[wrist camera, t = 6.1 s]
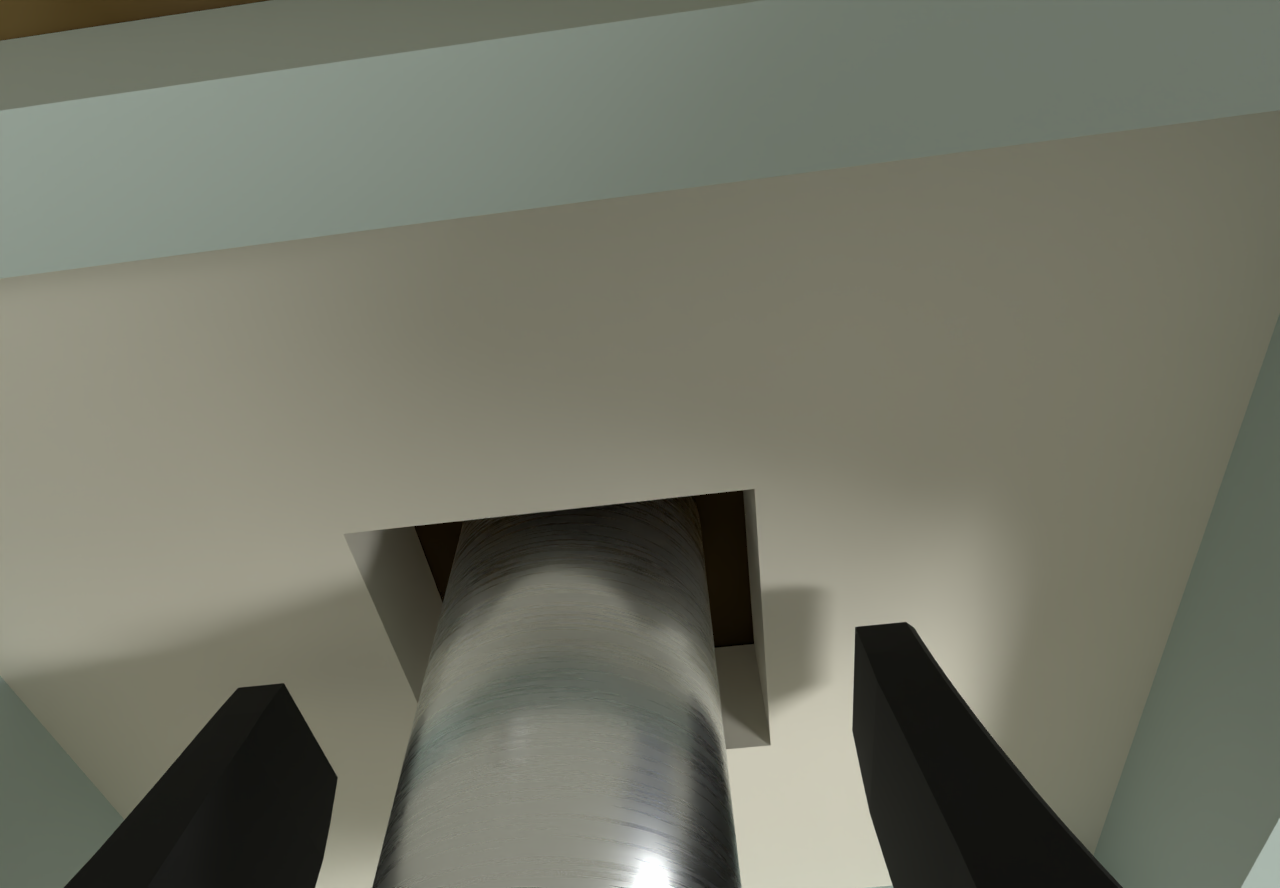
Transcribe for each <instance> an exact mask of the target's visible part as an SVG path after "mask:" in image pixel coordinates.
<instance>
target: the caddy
mask: <svg viewBox="0 0 1280 888" xmlns="http://www.w3.org/2000/svg"><path fill="white" fill-rule="evenodd" d="M740 490H743V499H744V513H745V526H746V540H747V554H748V567H749V581H750V595H751V609H752V622H753V636H754V644H749V645H739V646H729V647H719V648H715V657H716V666H717V675H718V683H719V692H720V701H721V710H722V719H723V728H724V736H725V745H726V754H727V763H728V772H729V781H730V789H731V798H732V807H733V816H734V825H735V834H736V843H737V851H738V860H739V869H740V878H741V887H742V888H893V885H892V882H891V879H890V876H889V872H888V869H887V866H886V863H885V860H884V857H883V854H882V850H881V847H880V844H879V841H878V838H877V835H876V832H875V828H874V825H873V822H872V819H871V816H870V812H869V807H868V803H867V798H866V794H865V789H864V784H863V780H862V775H861V771H860V766H859V761H858V756H857V751H856V746H855V742H854V737H853V732H852V722H853V687H854V653H855V627H859V626H869V625H879V624H889V623H899V622H907V623H908V624H910V625H911V626H913V627H914V628H915V630H916V631H917V633H918V634H919V636H920V637H921V639H922V641H923V642H924V644H925V645H926V647H927V648H928V650H929V651H930V653H931V654H932V656H933V657H934V659H935V660H936V661H937V663H938V664H939V666H940V667H941V669H942V670H943V672H944V673H945V674H946V676H947V677H948V679H949V680H950V681H951V683H952V684H953V686H954V687H955V688H956V690H957V691H958V692H959V694H960V695H961V696H962V698H963V699H964V700H965V702H966V703H967V704H968V706H969V707H970V709H971V710H972V711H973V713H974V714H975V715H976V717H977V718H978V719H979V721H980V722H981V723H982V724H983V726H984V727H985V728H986V730H987V731H988V732H989V733H990V735H991V736H992V737H993V738H994V740H995V741H996V742H997V744H998V745H999V746H1000V747H1001V748H1002V750H1003V751H1004V752H1005V753H1006V755H1007V756H1008V757H1009V758H1010V759H1011V761H1012V762H1013V763H1014V764H1015V766H1016V767H1017V768H1018V769H1019V770H1020V772H1021V773H1022V774H1023V775H1024V777H1025V778H1026V779H1027V780H1028V781H1029V783H1030V784H1031V785H1032V786H1033V788H1034V789H1035V790H1036V791H1037V792H1038V794H1039V795H1040V796H1041V797H1042V798H1043V799H1044V801H1045V802H1046V803H1047V804H1048V805H1049V806H1050V807H1051V809H1052V810H1053V811H1054V812H1055V813H1056V814H1057V816H1058V817H1059V818H1060V819H1061V820H1062V821H1063V823H1064V824H1065V825H1066V826H1067V827H1068V828H1069V829H1070V830H1071V831H1072V833H1073V834H1074V835H1075V836H1076V837H1077V838H1078V839H1079V840H1080V841H1081V842H1082V844H1083V845H1084V846H1085V847H1086V848H1087V849H1088V850H1089V851H1090V852H1091V854H1092V855H1093V856H1094V857H1095V858H1096V859H1097V860H1098V861H1099V862H1100V864H1101V865H1102V866H1103V867H1104V868H1105V869H1106V870H1107V871H1108V872H1109V873H1110V874H1111V875H1112V876H1113V877H1114V878H1115V880H1116V881H1117V882H1118V883H1119V884H1120V885H1121V886H1122V887H1123V888H1280V0H270V1H263V2H256V3H250V4H243V5H236V6H230V7H223V8H216V9H210V10H203V11H196V12H190V13H183V14H176V15H169V16H163V17H156V18H149V19H143V20H136V21H129V22H123V23H116V24H109V25H103V26H96V27H89V28H83V29H76V30H69V31H63V32H56V33H49V34H43V35H36V36H29V37H23V38H16V39H9V40H2V41H0V888H64V887H65V886H66V884H67V883H68V882H69V881H70V880H71V879H72V878H73V877H74V876H75V875H76V874H77V873H78V872H79V870H80V869H81V868H82V867H83V866H84V865H85V864H86V863H87V862H88V861H89V860H90V859H91V858H92V856H93V855H94V854H95V853H96V852H97V851H98V850H99V849H100V847H101V846H102V845H103V844H104V843H105V842H106V840H107V839H108V838H109V837H110V836H111V835H112V834H113V832H114V831H115V830H116V829H117V828H118V827H119V826H120V824H121V823H122V822H123V821H124V820H125V819H126V817H127V816H128V815H129V814H130V813H131V812H132V811H133V809H134V808H135V807H136V806H137V805H138V804H139V802H140V801H141V800H142V799H143V798H144V797H145V796H146V794H147V793H148V792H149V791H150V790H151V789H152V788H153V786H154V785H155V784H156V783H157V782H158V780H159V779H160V778H161V777H162V776H163V775H164V773H165V772H166V771H167V770H168V769H169V768H170V766H171V765H172V764H173V763H174V762H175V760H176V759H177V758H178V757H179V756H180V755H181V753H182V752H183V751H184V750H185V749H186V747H187V746H188V745H189V744H190V743H191V742H192V740H193V739H194V738H195V737H196V736H197V734H198V733H199V732H200V731H201V730H202V729H203V727H204V726H205V725H206V724H207V723H208V721H209V720H210V719H211V718H212V717H213V716H214V714H215V713H216V712H217V711H218V710H219V709H220V707H221V706H222V705H223V704H224V703H225V702H226V701H227V700H228V698H229V697H230V696H231V695H232V694H233V693H234V692H235V691H236V689H237V688H240V687H250V686H260V685H270V684H280V683H284V684H285V686H286V688H287V689H288V691H289V693H290V695H291V696H292V698H293V700H294V702H295V703H296V705H297V707H298V709H299V710H300V712H301V714H302V716H303V717H304V719H305V721H306V723H307V724H308V726H309V728H310V730H311V731H312V733H313V735H314V737H315V738H316V740H317V742H318V744H319V745H320V747H321V749H322V751H323V752H324V754H325V756H326V758H327V759H328V761H329V763H330V765H331V766H332V768H333V770H334V772H335V773H336V775H337V777H338V780H337V786H336V792H335V798H334V804H333V810H332V816H331V822H330V828H329V833H328V838H327V843H326V848H325V853H324V858H323V862H322V866H321V869H320V873H319V876H318V879H317V883H316V886H315V888H372V886H373V882H374V878H375V874H376V870H377V866H378V862H379V858H380V854H381V850H382V846H383V842H384V838H385V834H386V830H387V826H388V822H389V818H390V814H391V810H392V806H393V802H394V798H395V794H396V790H397V786H398V782H399V778H400V774H401V770H402V766H403V762H404V758H405V754H406V749H407V745H408V741H409V737H410V733H411V729H412V725H413V721H414V717H415V713H416V709H417V705H418V701H419V697H420V693H421V689H422V685H423V681H424V677H425V673H426V669H427V665H428V661H429V657H430V653H431V649H432V645H433V641H434V637H435V633H436V629H437V625H438V621H439V617H440V613H441V608H442V604H443V602H442V600H441V597H440V594H439V592H438V589H437V586H436V584H435V581H434V578H433V576H432V573H431V570H430V568H429V565H428V562H427V559H426V557H425V554H424V551H423V549H422V546H421V543H420V541H419V538H418V535H417V533H416V530H415V527H414V526H419V525H428V524H437V523H447V522H456V521H465V520H474V519H483V518H492V517H502V516H511V515H520V514H529V513H538V512H547V511H557V510H566V509H575V508H584V507H593V506H602V505H612V504H621V503H630V502H639V501H648V500H657V499H666V498H676V497H685V496H694V495H703V494H712V493H721V492H731V491H740Z"/></svg>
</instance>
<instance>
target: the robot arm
mask: <svg viewBox="0 0 1280 888" xmlns="http://www.w3.org/2000/svg"><path fill="white" fill-rule="evenodd" d="M852 732H853V737H854V742H855V746H856V751H857V756H858V761H859V766H860V771H861V775H862V780H863V784H864V789H865V794H866V798H867V803H868V807H869V812H870V816H871V819H872V822H873V825H874V828H875V832H876V835H877V838H878V841H879V844H880V847H881V850H882V854H883V857H884V860H885V863H886V866H887V869H888V872H889V876H890V879H891V882H892V885H893V888H1123V887H1122V886H1121V885H1120V884H1119V883H1118V882H1117V881H1116V880H1115V878H1114V877H1113V876H1112V875H1111V874H1110V873H1109V872H1108V871H1107V870H1106V869H1105V868H1104V867H1103V866H1102V865H1101V864H1100V862H1099V861H1098V860H1097V859H1096V858H1095V857H1094V856H1093V855H1092V854H1091V852H1090V851H1089V850H1088V849H1087V848H1086V847H1085V846H1084V845H1083V844H1082V842H1081V841H1080V840H1079V839H1078V838H1077V837H1076V836H1075V835H1074V834H1073V833H1072V831H1071V830H1070V829H1069V828H1068V827H1067V826H1066V825H1065V824H1064V823H1063V821H1062V820H1061V819H1060V818H1059V817H1058V816H1057V814H1056V813H1055V812H1054V811H1053V810H1052V809H1051V807H1050V806H1049V805H1048V804H1047V803H1046V802H1045V801H1044V799H1043V798H1042V797H1041V796H1040V795H1039V794H1038V792H1037V791H1036V790H1035V789H1034V788H1033V786H1032V785H1031V784H1030V783H1029V781H1028V780H1027V779H1026V778H1025V777H1024V775H1023V774H1022V773H1021V772H1020V770H1019V769H1018V768H1017V767H1016V766H1015V764H1014V763H1013V762H1012V761H1011V759H1010V758H1009V757H1008V756H1007V755H1006V753H1005V752H1004V751H1003V750H1002V748H1001V747H1000V746H999V745H998V744H997V742H996V741H995V740H994V738H993V737H992V736H991V735H990V733H989V732H988V731H987V730H986V728H985V727H984V726H983V724H982V723H981V722H980V721H979V719H978V718H977V717H976V715H975V714H974V713H973V711H972V710H971V709H970V707H969V706H968V704H967V703H966V702H965V700H964V699H963V698H962V696H961V695H960V694H959V692H958V691H957V690H956V688H955V687H954V686H953V684H952V683H951V681H950V680H949V679H948V677H947V676H946V674H945V673H944V672H943V670H942V669H941V667H940V666H939V664H938V663H937V661H936V660H935V659H934V657H933V656H932V654H931V653H930V651H929V650H928V648H927V647H926V645H925V644H924V642H923V641H922V639H921V637H920V636H919V634H918V633H917V631H916V630H915V628H914V627H913V626H911V625H910V624H908V623H907V622H899V623H889V624H879V625H869V626H859V627H855V653H854V687H853V722H852ZM337 780H338V777H337V775H336V773H335V772H334V770H333V768H332V766H331V765H330V763H329V761H328V759H327V758H326V756H325V754H324V752H323V751H322V749H321V747H320V745H319V744H318V742H317V740H316V738H315V737H314V735H313V733H312V731H311V730H310V728H309V726H308V724H307V723H306V721H305V719H304V717H303V716H302V714H301V712H300V710H299V709H298V707H297V705H296V703H295V702H294V700H293V698H292V696H291V695H290V693H289V691H288V689H287V688H286V686H285V684H284V683H280V684H270V685H260V686H250V687H240V688H237V689H236V691H235V692H234V693H233V694H232V695H231V696H230V697H229V698H228V700H227V701H226V702H225V703H224V704H223V705H222V706H221V707H220V709H219V710H218V711H217V712H216V713H215V714H214V716H213V717H212V718H211V719H210V720H209V721H208V723H207V724H206V725H205V726H204V727H203V729H202V730H201V731H200V732H199V733H198V734H197V736H196V737H195V738H194V739H193V740H192V742H191V743H190V744H189V745H188V746H187V747H186V749H185V750H184V751H183V752H182V753H181V755H180V756H179V757H178V758H177V759H176V760H175V762H174V763H173V764H172V765H171V766H170V768H169V769H168V770H167V771H166V772H165V773H164V775H163V776H162V777H161V778H160V779H159V780H158V782H157V783H156V784H155V785H154V786H153V788H152V789H151V790H150V791H149V792H148V793H147V794H146V796H145V797H144V798H143V799H142V800H141V801H140V802H139V804H138V805H137V806H136V807H135V808H134V809H133V811H132V812H131V813H130V814H129V815H128V816H127V817H126V819H125V820H124V821H123V822H122V823H121V824H120V826H119V827H118V828H117V829H116V830H115V831H114V832H113V834H112V835H111V836H110V837H109V838H108V839H107V840H106V842H105V843H104V844H103V845H102V846H101V847H100V849H99V850H98V851H97V852H96V853H95V854H94V855H93V856H92V858H91V859H90V860H89V861H88V862H87V863H86V864H85V865H84V866H83V867H82V868H81V869H80V870H79V872H78V873H77V874H76V875H75V876H74V877H73V878H72V879H71V880H70V881H69V882H68V883H67V884H66V886H65V887H64V888H315V886H316V883H317V879H318V876H319V873H320V869H321V866H322V862H323V858H324V853H325V848H326V843H327V838H328V833H329V828H330V822H331V816H332V810H333V804H334V798H335V792H336V786H337Z"/></svg>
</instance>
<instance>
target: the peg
mask: <svg viewBox="0 0 1280 888" xmlns="http://www.w3.org/2000/svg"><path fill="white" fill-rule="evenodd" d="M372 888H742V887H741V878H740V869H739V860H738V851H737V843H736V834H735V825H734V816H733V807H732V798H731V789H730V781H729V772H728V763H727V754H726V745H725V736H724V728H723V719H722V710H721V701H720V692H719V683H718V675H717V666H716V657H715V648H714V639H713V630H712V622H711V613H710V604H709V595H708V586H707V577H706V569H705V560H704V551H703V542H702V533H701V524H700V517H699V512H698V508H697V505H696V502H695V499H694V497H693V496H685V497H676V498H666V499H657V500H648V501H639V502H630V503H621V504H612V505H602V506H593V507H584V508H575V509H566V510H557V511H547V512H538V513H529V514H520V515H511V516H502V517H492V518H483V519H474V520H465V521H463V524H462V528H461V532H460V536H459V540H458V544H457V548H456V552H455V556H454V560H453V564H452V568H451V572H450V576H449V580H448V584H447V588H446V592H445V596H444V600H443V604H442V608H441V613H440V617H439V621H438V625H437V629H436V633H435V637H434V641H433V645H432V649H431V653H430V657H429V661H428V665H427V669H426V673H425V677H424V681H423V685H422V689H421V693H420V697H419V701H418V705H417V709H416V713H415V717H414V721H413V725H412V729H411V733H410V737H409V741H408V745H407V749H406V754H405V758H404V762H403V766H402V770H401V774H400V778H399V782H398V786H397V790H396V794H395V798H394V802H393V806H392V810H391V814H390V818H389V822H388V826H387V830H386V834H385V838H384V842H383V846H382V850H381V854H380V858H379V862H378V866H377V870H376V874H375V878H374V882H373V886H372Z"/></svg>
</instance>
